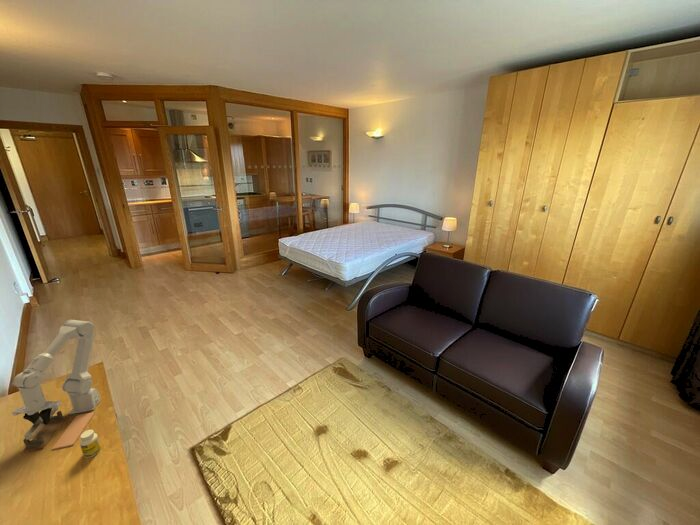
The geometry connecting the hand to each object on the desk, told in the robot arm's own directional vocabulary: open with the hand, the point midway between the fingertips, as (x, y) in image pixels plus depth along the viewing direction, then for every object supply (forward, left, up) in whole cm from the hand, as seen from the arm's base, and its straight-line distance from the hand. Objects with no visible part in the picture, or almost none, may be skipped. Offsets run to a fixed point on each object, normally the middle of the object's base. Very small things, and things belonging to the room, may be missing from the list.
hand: (43, 423), depth 121 cm
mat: (-10, +1, -6) cm, 12 cm away
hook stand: (0, 0, -6) cm, 6 cm away
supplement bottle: (-23, +16, -6) cm, 29 cm away
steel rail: (0, 0, +1) cm, 1 cm away
